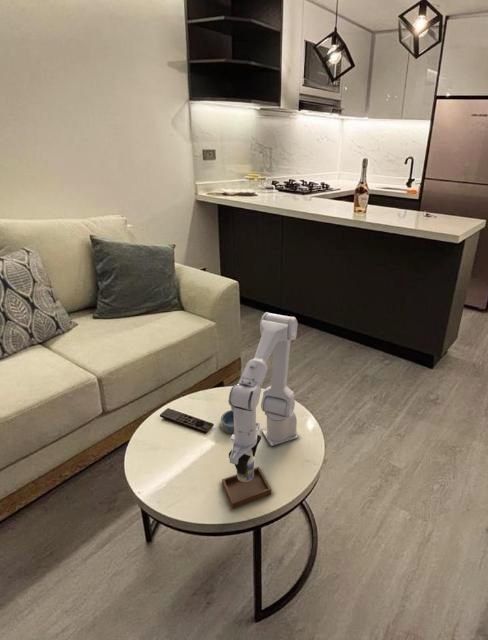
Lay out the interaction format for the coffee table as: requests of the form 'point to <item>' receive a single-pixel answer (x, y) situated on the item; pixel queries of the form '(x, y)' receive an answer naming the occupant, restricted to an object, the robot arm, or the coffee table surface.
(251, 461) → the pill bottle
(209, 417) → the coffee table surface
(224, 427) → the bowl
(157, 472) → the coffee table surface
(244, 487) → the tray
